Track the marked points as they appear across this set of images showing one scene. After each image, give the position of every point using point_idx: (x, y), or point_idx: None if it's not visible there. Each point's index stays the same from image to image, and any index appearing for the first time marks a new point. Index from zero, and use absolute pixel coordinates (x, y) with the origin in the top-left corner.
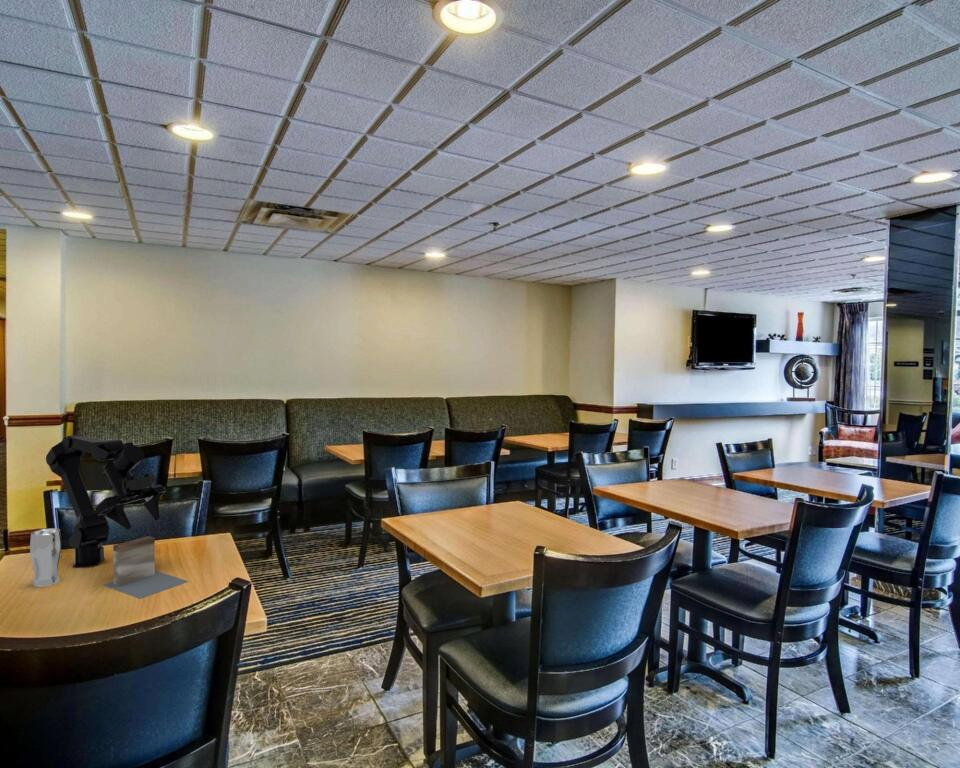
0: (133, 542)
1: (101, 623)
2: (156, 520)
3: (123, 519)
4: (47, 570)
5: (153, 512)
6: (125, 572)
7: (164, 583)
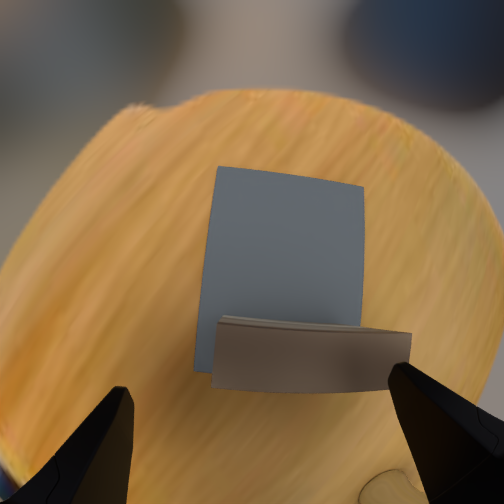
0: (336, 351)
1: (445, 171)
2: (132, 406)
3: (469, 407)
4: (415, 489)
5: (113, 470)
6: (336, 325)
7: (263, 217)
